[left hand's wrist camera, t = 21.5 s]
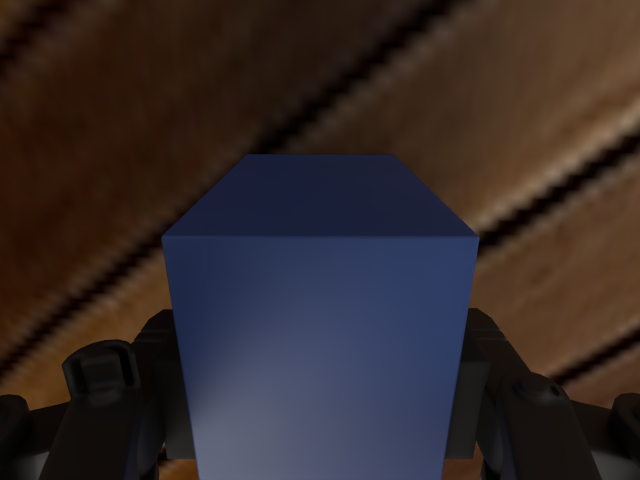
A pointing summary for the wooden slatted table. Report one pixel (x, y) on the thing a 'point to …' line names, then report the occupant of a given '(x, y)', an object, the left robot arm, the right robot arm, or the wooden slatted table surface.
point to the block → (320, 319)
